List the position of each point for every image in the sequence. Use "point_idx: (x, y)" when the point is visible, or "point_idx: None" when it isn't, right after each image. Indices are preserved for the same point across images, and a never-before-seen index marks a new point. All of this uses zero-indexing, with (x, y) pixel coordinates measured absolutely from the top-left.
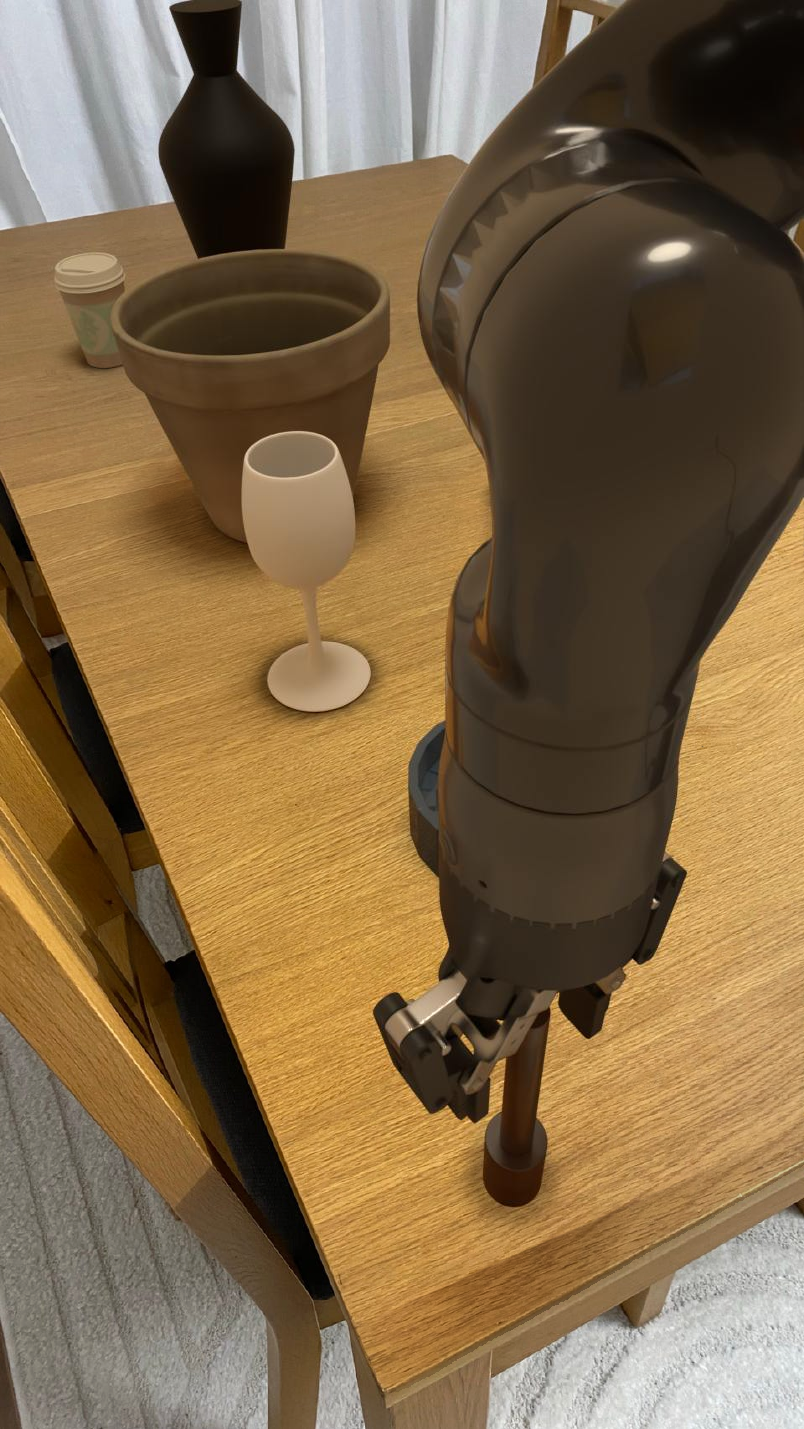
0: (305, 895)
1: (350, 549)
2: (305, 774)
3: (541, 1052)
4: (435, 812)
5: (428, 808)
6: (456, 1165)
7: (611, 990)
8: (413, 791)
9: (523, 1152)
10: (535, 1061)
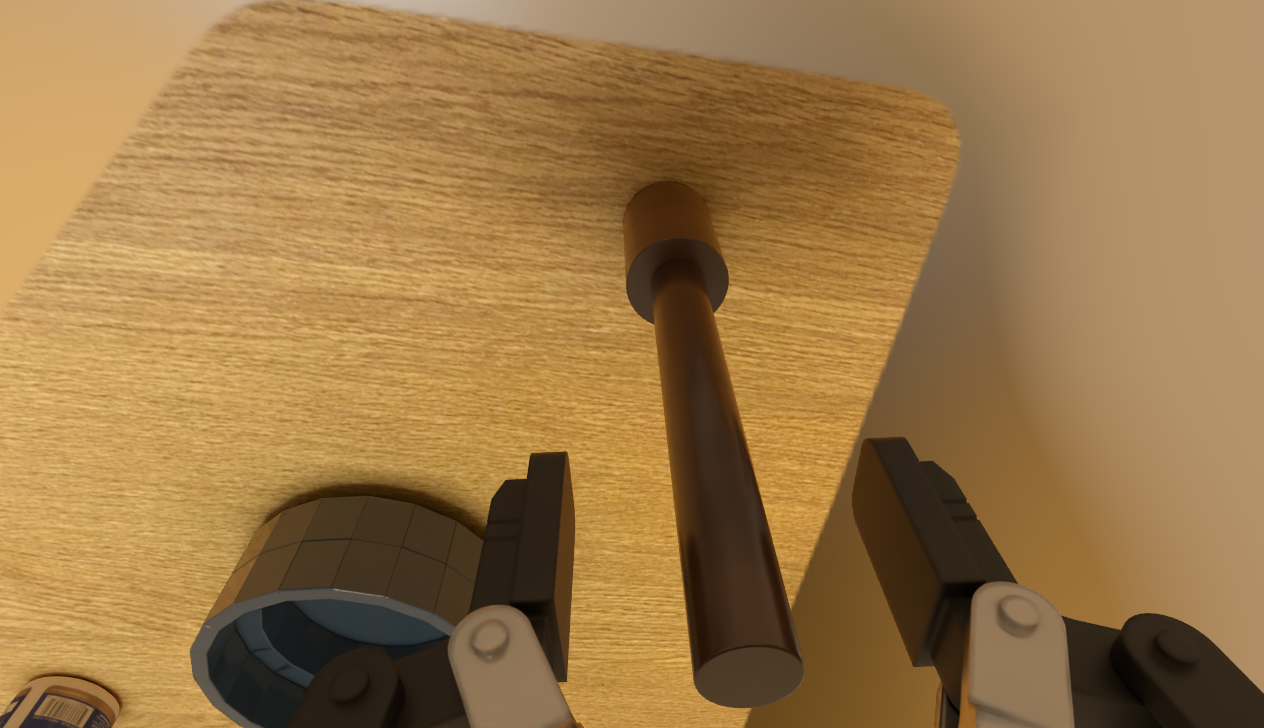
0: (660, 606)
1: None
2: (571, 705)
3: (723, 518)
4: None
5: None
6: None
7: (507, 619)
8: None
9: (685, 264)
10: (733, 496)
